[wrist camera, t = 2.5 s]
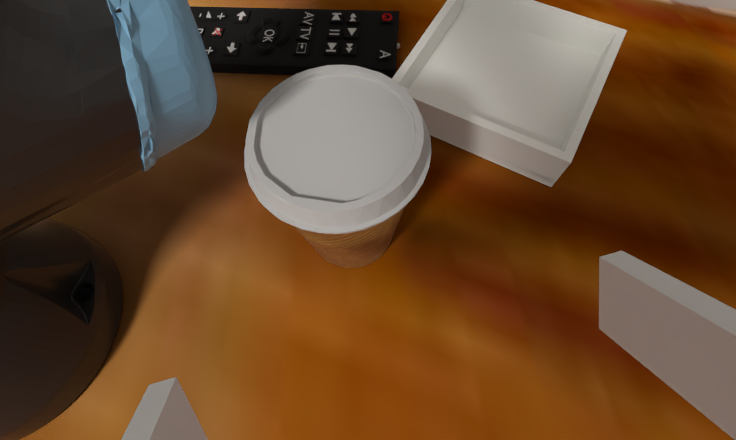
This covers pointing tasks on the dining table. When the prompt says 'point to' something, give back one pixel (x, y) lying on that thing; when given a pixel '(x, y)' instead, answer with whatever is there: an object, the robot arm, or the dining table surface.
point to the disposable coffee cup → (338, 158)
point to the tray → (511, 81)
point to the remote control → (297, 39)
